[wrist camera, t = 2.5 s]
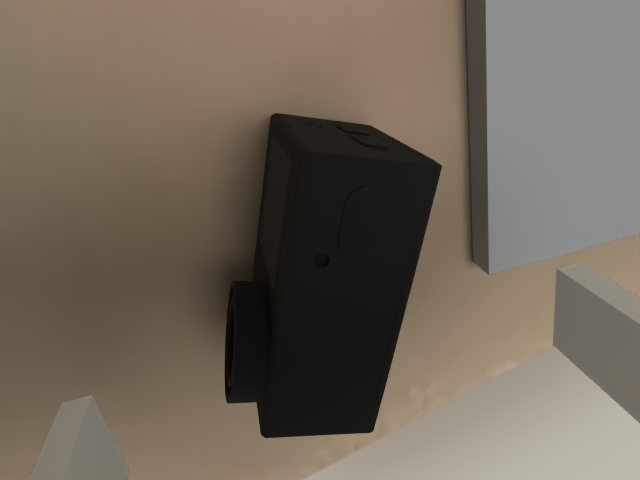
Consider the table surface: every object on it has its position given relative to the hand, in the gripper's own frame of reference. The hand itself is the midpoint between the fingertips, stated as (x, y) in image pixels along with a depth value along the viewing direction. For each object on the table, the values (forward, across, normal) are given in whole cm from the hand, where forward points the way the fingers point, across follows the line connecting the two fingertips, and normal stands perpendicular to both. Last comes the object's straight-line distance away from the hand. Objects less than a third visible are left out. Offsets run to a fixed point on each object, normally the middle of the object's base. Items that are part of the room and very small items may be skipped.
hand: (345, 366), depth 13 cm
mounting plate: (+9, +18, +4) cm, 20 cm away
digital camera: (+9, 0, 0) cm, 9 cm away
